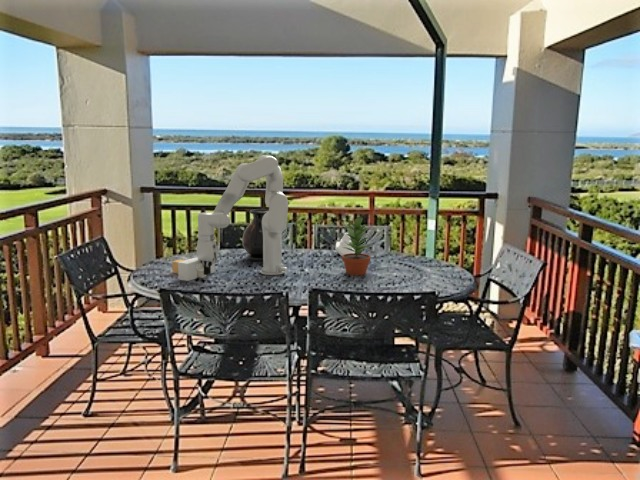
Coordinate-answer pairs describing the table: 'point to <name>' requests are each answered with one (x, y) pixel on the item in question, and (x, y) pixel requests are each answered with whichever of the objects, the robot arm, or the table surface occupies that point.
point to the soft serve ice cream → (344, 245)
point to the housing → (190, 269)
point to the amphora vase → (254, 236)
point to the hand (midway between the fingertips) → (207, 274)
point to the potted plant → (356, 250)
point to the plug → (175, 263)
